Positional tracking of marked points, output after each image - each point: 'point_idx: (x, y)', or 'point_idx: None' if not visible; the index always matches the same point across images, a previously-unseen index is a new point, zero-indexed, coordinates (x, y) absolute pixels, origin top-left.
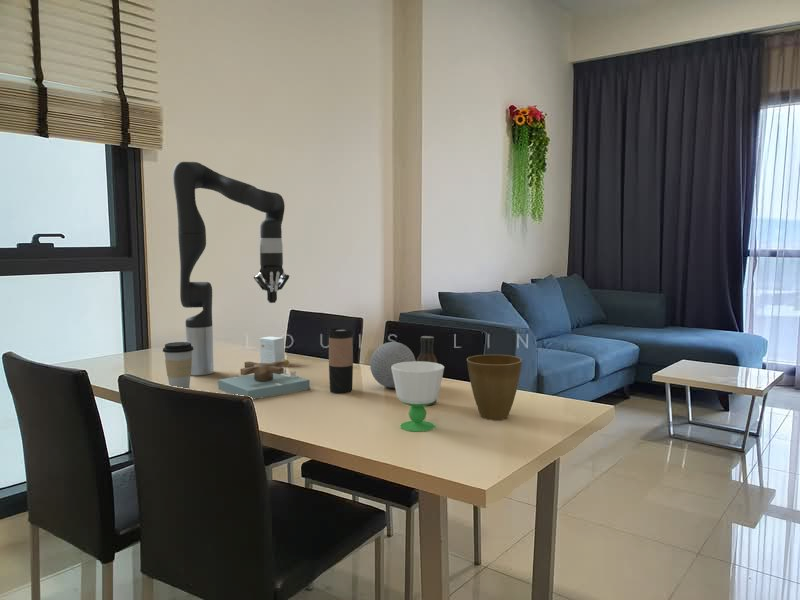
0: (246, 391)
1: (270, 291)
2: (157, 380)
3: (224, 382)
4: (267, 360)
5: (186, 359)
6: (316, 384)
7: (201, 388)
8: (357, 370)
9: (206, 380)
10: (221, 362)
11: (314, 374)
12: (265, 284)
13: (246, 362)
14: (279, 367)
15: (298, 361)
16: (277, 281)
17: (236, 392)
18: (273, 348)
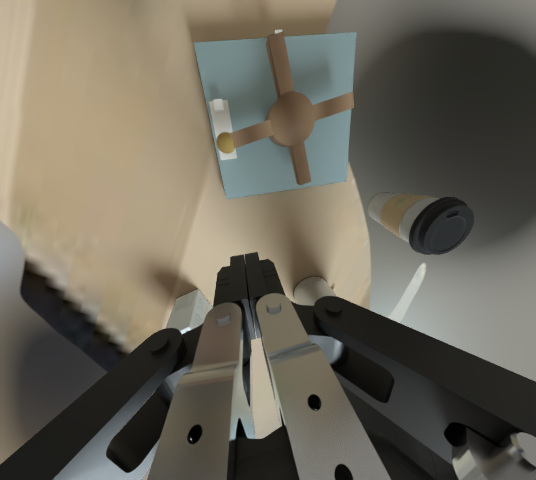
0: (354, 42)
1: (282, 296)
2: (369, 274)
3: (347, 154)
4: (206, 306)
5: (421, 200)
6: (167, 93)
7: (354, 197)
8: (24, 178)
9: (324, 245)
10: (260, 339)
11: (144, 194)
12: (379, 345)
13: (309, 177)
14: (274, 51)
15: (146, 309)
16: (190, 426)
17: None
18: (194, 313)
